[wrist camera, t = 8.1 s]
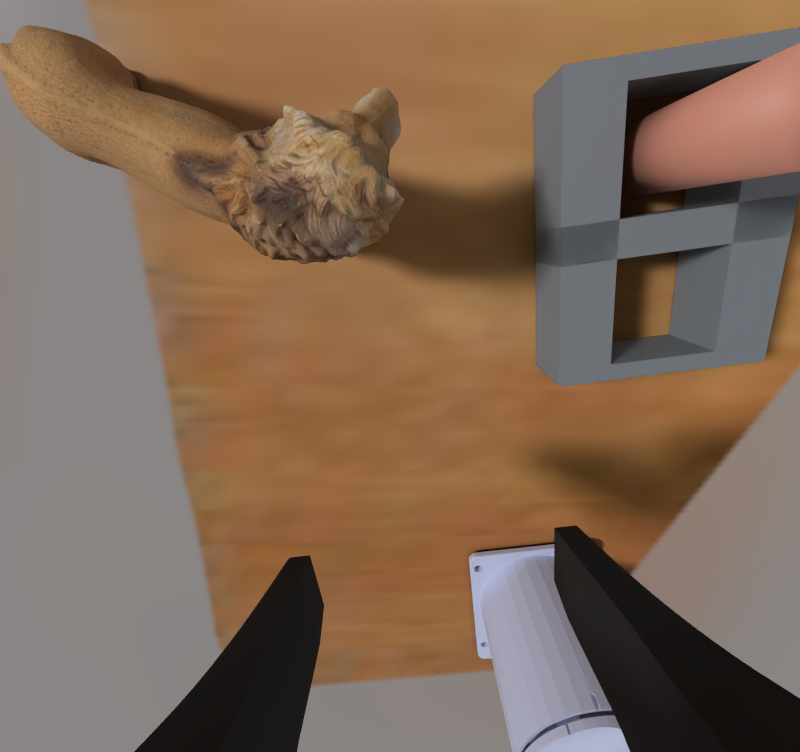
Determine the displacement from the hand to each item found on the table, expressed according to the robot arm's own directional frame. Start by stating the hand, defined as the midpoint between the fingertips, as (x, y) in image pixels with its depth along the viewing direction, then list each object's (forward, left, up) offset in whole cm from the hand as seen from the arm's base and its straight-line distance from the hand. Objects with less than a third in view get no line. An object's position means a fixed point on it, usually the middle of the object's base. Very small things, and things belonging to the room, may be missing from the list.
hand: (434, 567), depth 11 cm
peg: (+11, -11, -10) cm, 19 cm away
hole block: (+8, -11, -10) cm, 17 cm away
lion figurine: (+13, +6, -11) cm, 18 cm away
